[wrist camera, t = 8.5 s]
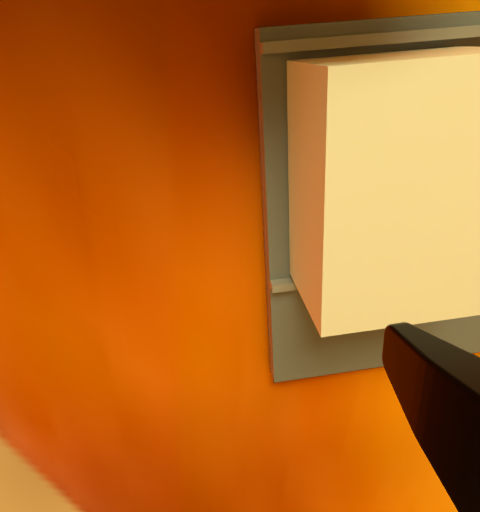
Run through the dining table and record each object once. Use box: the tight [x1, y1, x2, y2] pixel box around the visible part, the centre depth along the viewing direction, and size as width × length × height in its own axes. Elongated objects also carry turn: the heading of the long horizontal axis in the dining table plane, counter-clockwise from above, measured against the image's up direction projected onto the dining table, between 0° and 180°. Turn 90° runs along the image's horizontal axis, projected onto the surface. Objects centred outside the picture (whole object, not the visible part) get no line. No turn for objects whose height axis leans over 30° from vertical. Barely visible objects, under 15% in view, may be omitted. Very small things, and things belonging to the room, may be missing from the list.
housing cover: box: [287, 46, 480, 337], centre depth 16 cm, size 7×10×5 cm
